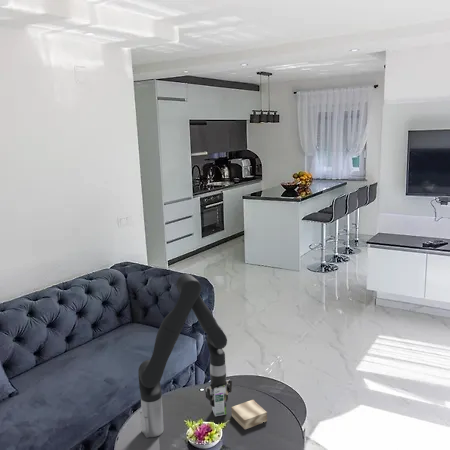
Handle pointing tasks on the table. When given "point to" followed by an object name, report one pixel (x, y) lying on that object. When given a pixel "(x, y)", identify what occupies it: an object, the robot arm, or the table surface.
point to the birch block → (249, 414)
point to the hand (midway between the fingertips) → (219, 403)
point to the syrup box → (219, 401)
